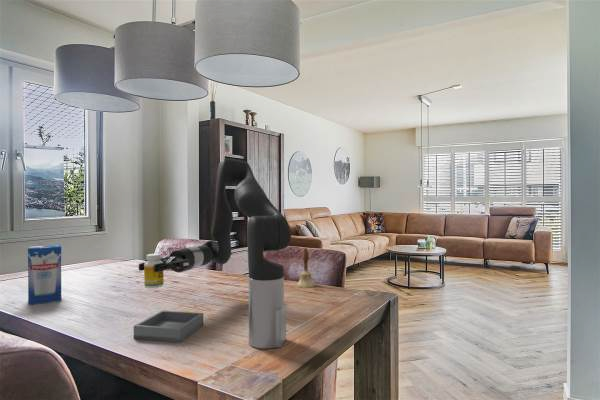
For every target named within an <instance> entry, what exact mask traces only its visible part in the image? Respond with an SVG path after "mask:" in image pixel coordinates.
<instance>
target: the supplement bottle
mask: <svg viewBox="0 0 600 400" xmlns="http://www.w3.org/2000/svg"><path fill="white" fill-rule="evenodd" d="M161 257H162V254H161V253H149V254H146V257H145V258H146V259H145V260H147V262H145V261H144V262H145V264H144V270H143V271H144V275H143V276H144V277H143V278H144V280H143V281H144V287H145V288H147V289H157V288H161V287H163V286H164V280H165V279H164V271H159V272H154V265H155V264H159V263H163V262H162V261H161V260H160V259H161Z"/></svg>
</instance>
